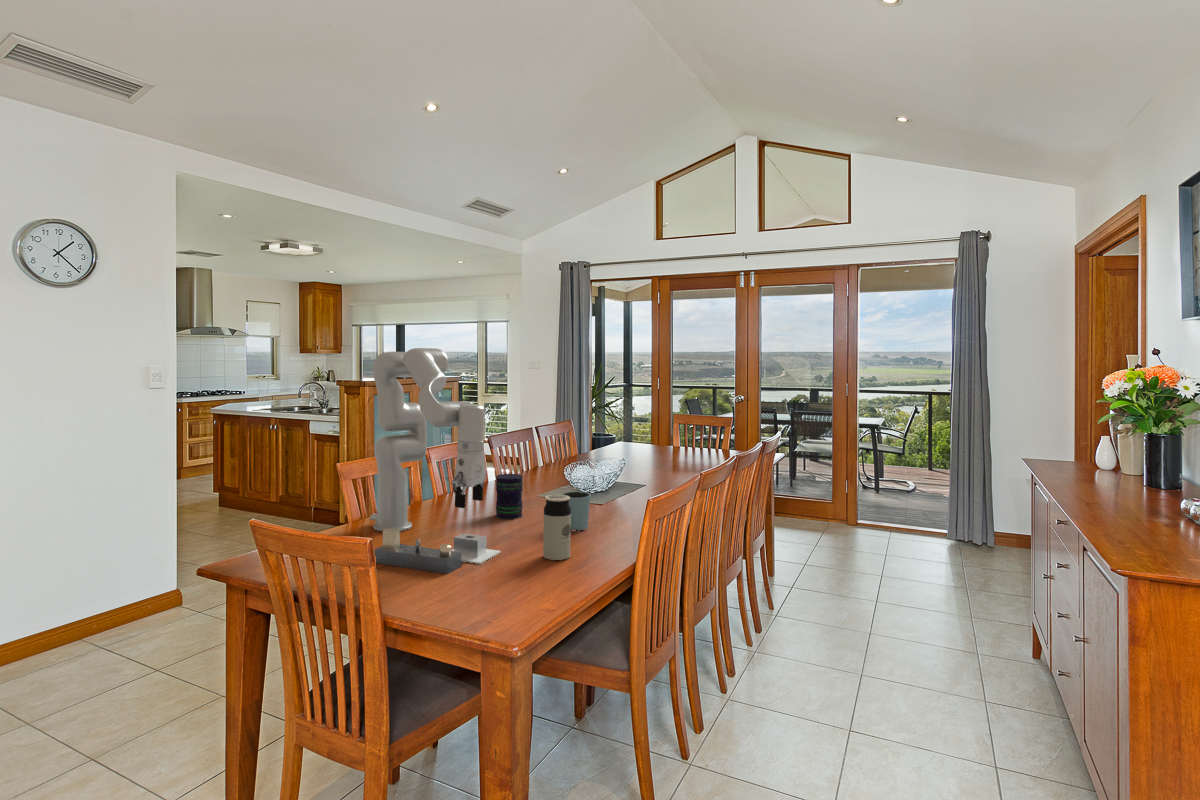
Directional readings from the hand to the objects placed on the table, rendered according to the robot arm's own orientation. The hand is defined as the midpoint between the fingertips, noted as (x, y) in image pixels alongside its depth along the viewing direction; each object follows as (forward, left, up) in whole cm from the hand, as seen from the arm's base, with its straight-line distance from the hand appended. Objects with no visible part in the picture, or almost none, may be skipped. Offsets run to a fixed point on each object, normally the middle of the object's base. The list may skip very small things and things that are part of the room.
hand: (469, 503), depth 190 cm
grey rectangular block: (+1, 0, -15) cm, 15 cm away
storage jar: (-11, +47, -16) cm, 51 cm away
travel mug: (+25, +9, -16) cm, 30 cm away
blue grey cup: (+18, +41, -16) cm, 47 cm away
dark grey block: (-8, -13, -15) cm, 22 cm away
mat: (+1, 0, -15) cm, 15 cm away
